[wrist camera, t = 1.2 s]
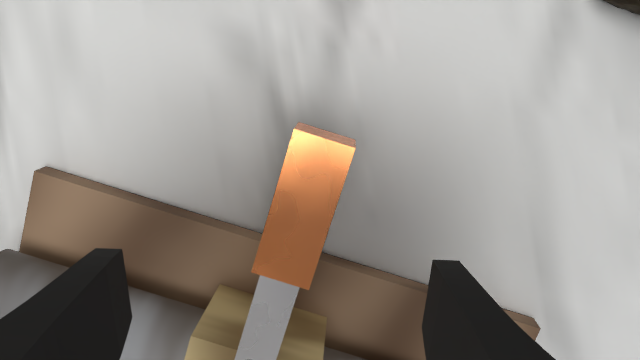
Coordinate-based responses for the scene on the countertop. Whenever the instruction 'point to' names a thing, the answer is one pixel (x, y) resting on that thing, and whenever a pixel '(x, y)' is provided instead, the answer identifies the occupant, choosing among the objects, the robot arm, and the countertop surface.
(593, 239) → the countertop surface
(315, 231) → the valve lever
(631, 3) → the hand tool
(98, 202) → the valve board
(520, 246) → the countertop surface
